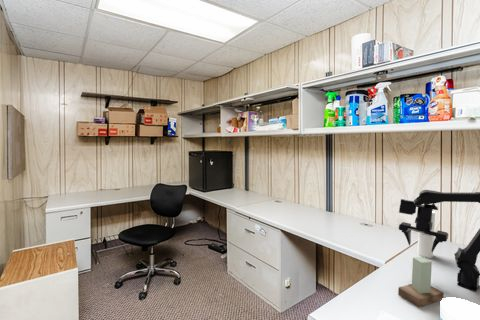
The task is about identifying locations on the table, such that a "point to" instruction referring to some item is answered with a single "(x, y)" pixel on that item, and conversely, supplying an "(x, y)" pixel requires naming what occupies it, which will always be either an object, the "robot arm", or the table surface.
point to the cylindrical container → (426, 241)
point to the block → (421, 274)
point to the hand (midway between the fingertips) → (420, 248)
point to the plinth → (420, 295)
